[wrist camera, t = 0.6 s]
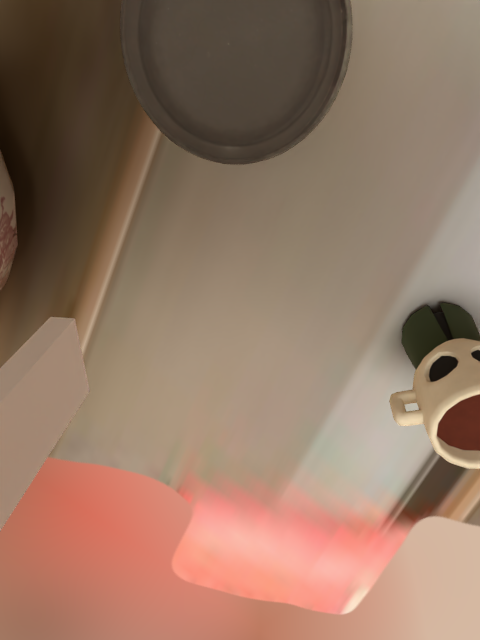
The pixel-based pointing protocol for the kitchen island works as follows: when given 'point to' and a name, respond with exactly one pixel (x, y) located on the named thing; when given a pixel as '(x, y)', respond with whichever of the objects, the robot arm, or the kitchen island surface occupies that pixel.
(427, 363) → the character mug
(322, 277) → the kitchen island surface
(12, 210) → the chamber pot
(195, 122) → the coffee can
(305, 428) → the kitchen island surface
